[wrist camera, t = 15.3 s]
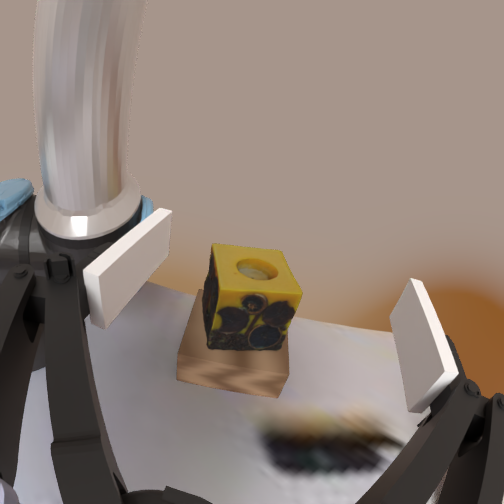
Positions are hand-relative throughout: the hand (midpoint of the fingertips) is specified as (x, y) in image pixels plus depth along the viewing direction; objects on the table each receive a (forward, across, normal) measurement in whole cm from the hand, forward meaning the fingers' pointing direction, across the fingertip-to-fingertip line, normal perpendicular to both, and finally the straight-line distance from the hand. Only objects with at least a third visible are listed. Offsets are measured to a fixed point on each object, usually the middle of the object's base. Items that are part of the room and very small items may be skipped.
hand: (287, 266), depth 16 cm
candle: (+18, -3, -22) cm, 28 cm away
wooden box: (+18, -3, -28) cm, 33 cm away
